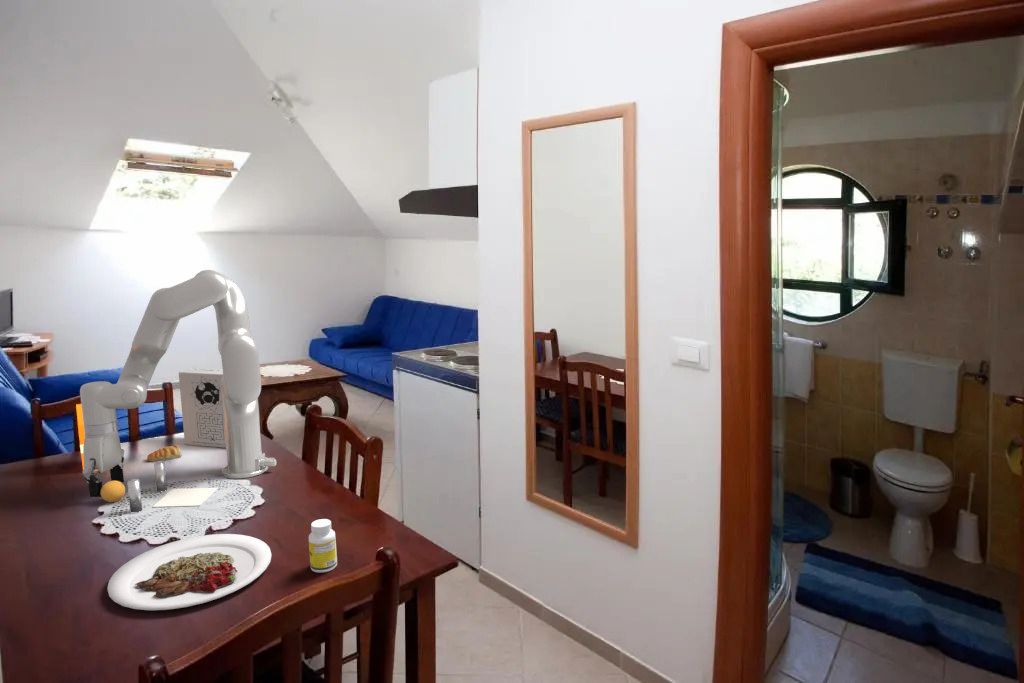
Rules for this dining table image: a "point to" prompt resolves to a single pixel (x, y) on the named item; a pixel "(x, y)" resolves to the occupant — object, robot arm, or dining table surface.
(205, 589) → the plated food
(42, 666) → the dining table surface
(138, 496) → the post left
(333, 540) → the supplement bottle
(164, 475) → the post right
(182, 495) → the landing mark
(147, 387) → the robot arm
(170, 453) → the pastry
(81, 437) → the orange juice
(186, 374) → the cereal box
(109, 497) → the ball
